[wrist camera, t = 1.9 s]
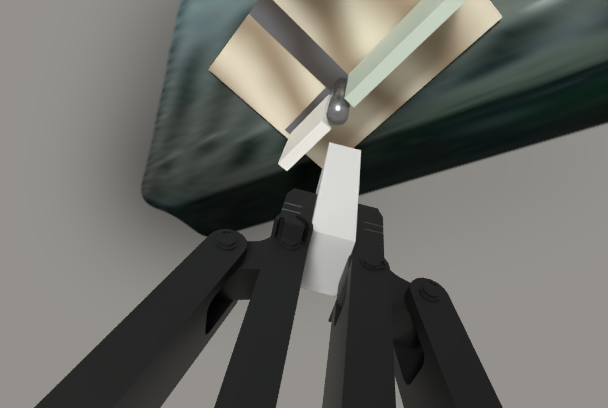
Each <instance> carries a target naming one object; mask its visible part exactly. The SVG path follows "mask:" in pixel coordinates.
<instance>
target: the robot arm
mask: <svg viewBox="0 0 608 408" xmlns="http://www.w3.org/2000/svg"><path fill="white" fill-rule="evenodd" d="M360 158H361V150H358V149H354V148H350V147H346V146H342V145H338V144H334V143H330V142H329V146H328V150H327V153H326V157H325V161H324V164H323V168H322V172H321V176H320V179H319V183H318V187H317V191H316V194H315V193H311V192H307V191H303V190H299V189H295V188H294V189H293V190H291V191H290V192H289V193H287V195H286V198H285V201H284V204H283V207H282V210H281V213H280V214H279V215H277V217H276V218H275V220H274V225H273V229H272V234H271V237H269V238H267V239H265V240H262V241H253V242H252V241H247V240H246V239H245V237H244V236H243V235H242V234H240V233H239V232H237V231H234V230H230V229H222V230H218V231H215V232H213V233H212V234H210V235H209V236H208V237H207V238H206V239H205V240H204V241H203V242H202V243H201V244H200V245H199V246H198V247H197V248H196V249H195V250H194V251H193V252H192V253H191V254H190V255H189V256H188V257H187V258H186V259H184V260H183V262H182V263H180V265H178V266H177V267H176V268H175V270H173V271H172V272H171V273H170V274H169V275H168V276H167V277H166V278H165V279H164V280H163V281H162V282H161V283H160V284H159V285H158V286H157V287H156V288H155V289H154V290H153V291H152V292H151V293H150V294H149V295H148V296H147V297H146V298H145V299H144V300H143V301H142V302H141V303H140V304H139V305H138V306H137V307H136V308H135V309H134V310H133V311H132V312H131V313H130V314H129V315H128V316H127V317H126V318H125V319H124V320H123V321H122V322H121V323H120V324H119V325H118V326H117V327H116V328H114V329H113V331H111V332H110V333H109V334H108V335H107V336H106V337H105V339H103V340H102V341H101V342H100V343H99V345H97V346H96V347H95V348H94V349H93V350H92V351H91V352H90V353H89V354H88V355H87V356H86V357H85V358H84V359H83V360H82V361H81V362H80V363H79V364H78V365H77V366H76V367H75V368H74V369H73V370H72V371H71V372H70V373H69V374H68V375H67V376H66V377H65V378H64V379H63V380H62V381H61V382H60V383H59V384H58V385H57V386H56V387H55V388H54V389H53V390H52V391H51V392H50V393H49V394H48V395H47V396H46V397H45V398H43V399H42V400H41V401H40V402H39V403H38V404H37V405H36V406H35V407H34V408H160V407H161V406H162V404H163V403H164V401H165V400H166V399H167V397H168V396H169V395H170V394H171V392H172V390H173V389H174V388H175V387H176V385H177V384H178V383H179V381H180V380H181V378H182V377H183V376H184V374H185V373H186V372H187V370H188V369H189V368H190V366H191V365H192V364H193V362H194V361H195V359H196V358H197V357H198V355H199V354H200V353H201V351H202V350H203V348H204V347H205V346H206V344H207V343H208V341H209V340H210V339H211V337H212V336H213V335H214V333H215V332H216V330H217V329H218V328H219V326H220V325H221V324H222V322H223V321H224V320H225V318H226V317H227V316H228V314H229V313H230V311H231V310H232V309H233V307H234V306H235V305H236V303H237V301H238V300H248V299H250V302H249V305H248V308H247V311H246V314H245V317H244V320H243V323H242V326H241V329H240V332H239V335H238V338H237V341H236V344H235V347H234V350H233V353H232V356H231V359H230V362H229V365H228V368H227V371H226V374H225V377H224V380H223V383H222V386H221V389H220V392H219V395H218V398H217V401H216V404H215V407H214V408H276V403H277V398H278V394H279V389H280V384H281V379H282V374H283V369H284V364H285V360H286V355H287V350H288V345H289V340H290V334H291V330H292V325H293V320H294V315H295V310H296V305H297V300H298V296H299V291H300V288H304V289H308V290H312V291H316V292H320V293H324V294H328V295H332V296H335V295H336V292H337V290H338V294H337V300H336V302H335V305H334V307H333V310H332V313H331V315H330V318H329V322H331V321H332V324H331V333H330V342H329V351H328V360H327V369H326V379H325V387H324V396H323V405H322V408H396V399H395V378H396V381H397V384H398V388H399V392H400V395H401V399H402V402H403V406H404V408H502V405H501V403H500V402H499V399H498V397H497V395H496V393H495V391H494V389H493V387H492V385H491V383H490V380H489V379H488V376H487V374H486V372H485V370H484V368H483V366H482V364H481V362H480V360H479V358H478V355H477V353H476V351H475V349H474V348H473V345H472V343H471V341H470V339H469V337H468V335H467V333H466V330H465V328H464V326H463V324H462V322H461V320H460V318H459V316H458V314H457V312H456V310H455V308H454V306H453V304H452V302H451V299H450V297H449V295H448V293H447V292H446V291H445V289H444V288H443V287H442V286H441V285H439V284H438V283H436V282H434V281H433V280H431V279H426V278H417V279H415V280H413V281H412V282H411V283H410V282H408V281H406V280H404V279H402V278H400V277H398V276H397V275H395V274H394V273H393V272H392V271H391V270H390V267H389V264H388V262H387V261H386V260H385V258H384V241H383V240H384V239H383V217H382V215H381V213H380V212H379V210H378V209H377V208H373V207H369V206H365V205H361V204H358V192H359V175H360ZM394 374H395V376H394Z"/></svg>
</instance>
